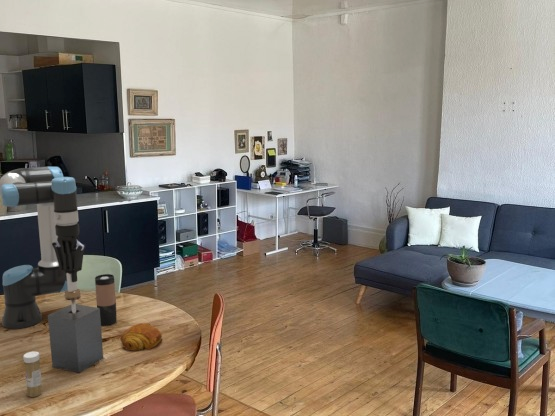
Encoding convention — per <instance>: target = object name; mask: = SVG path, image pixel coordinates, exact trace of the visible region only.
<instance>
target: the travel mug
mask: <svg viewBox="0 0 555 416" xmlns="http://www.w3.org/2000/svg"><path fill="white" fill-rule="evenodd" d="M94 282H95V283H94V284H95V294H96V295H95V299H96V308H100V319H101V327H109V326H113V325H116V324H117V297H116V286H115V285H116V283H115V276H114V275H113V274H110V273H105V274H100V275H96V276H95V277H94Z"/></svg>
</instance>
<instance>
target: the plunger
mask: <svg viewBox="0 0 555 416" xmlns="http://www.w3.org/2000/svg"><path fill="white" fill-rule="evenodd" d="M64 298H65V300H66V301H70V305H71V306H72V313H73V314H75V313H76V304H77V303H76V300H80V299H81V290H80V289H79V288H77V290H75V291H73V292H68V290H66V291H64Z"/></svg>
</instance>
